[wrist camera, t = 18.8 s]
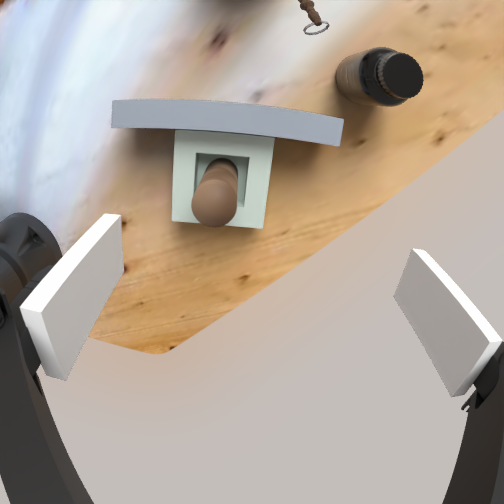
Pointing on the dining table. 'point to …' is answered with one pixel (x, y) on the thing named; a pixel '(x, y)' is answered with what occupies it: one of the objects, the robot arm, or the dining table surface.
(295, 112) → the wall
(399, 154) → the dining table surface
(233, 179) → the dowel
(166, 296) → the dining table surface
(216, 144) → the socket block
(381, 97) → the supplement bottle
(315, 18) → the coffee pot
